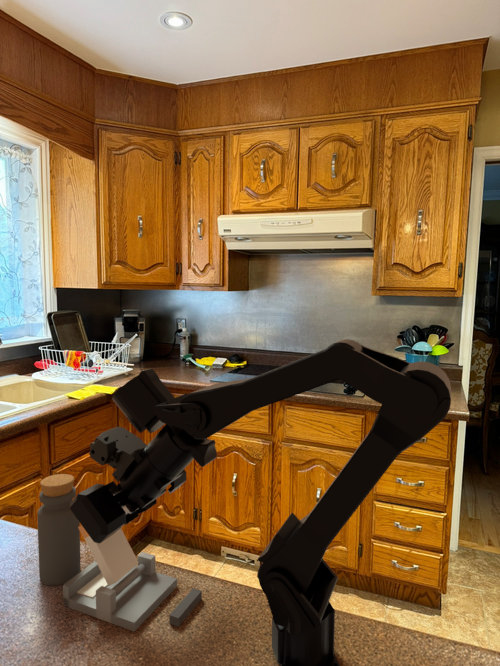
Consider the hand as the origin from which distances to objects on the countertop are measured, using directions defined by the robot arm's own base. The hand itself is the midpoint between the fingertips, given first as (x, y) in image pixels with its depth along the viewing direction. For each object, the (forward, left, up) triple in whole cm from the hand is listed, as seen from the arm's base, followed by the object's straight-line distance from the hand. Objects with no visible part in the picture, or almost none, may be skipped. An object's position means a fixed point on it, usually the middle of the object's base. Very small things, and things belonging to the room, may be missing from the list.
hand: (103, 523), depth 66 cm
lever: (-3, +3, -7) cm, 9 cm away
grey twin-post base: (-3, +3, -10) cm, 11 cm away
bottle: (+7, -5, -10) cm, 13 cm away
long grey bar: (-11, +7, -10) cm, 17 cm away
